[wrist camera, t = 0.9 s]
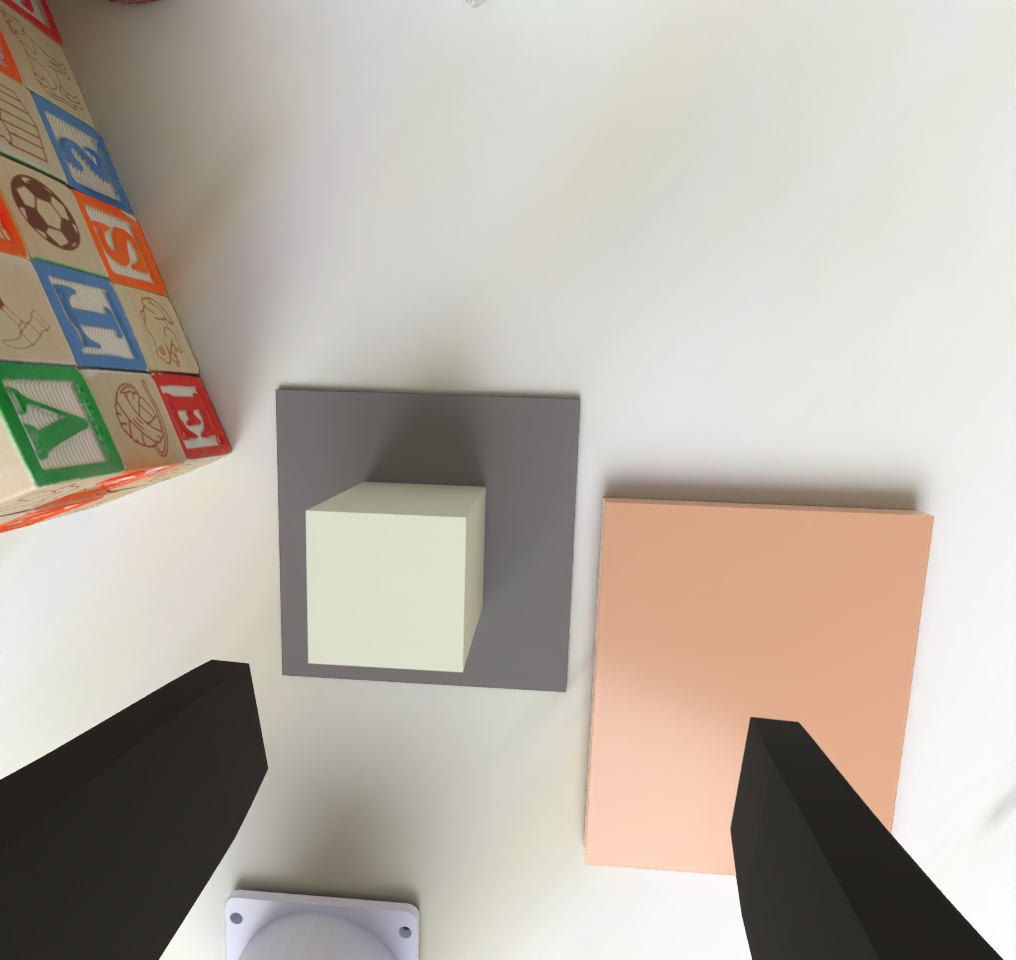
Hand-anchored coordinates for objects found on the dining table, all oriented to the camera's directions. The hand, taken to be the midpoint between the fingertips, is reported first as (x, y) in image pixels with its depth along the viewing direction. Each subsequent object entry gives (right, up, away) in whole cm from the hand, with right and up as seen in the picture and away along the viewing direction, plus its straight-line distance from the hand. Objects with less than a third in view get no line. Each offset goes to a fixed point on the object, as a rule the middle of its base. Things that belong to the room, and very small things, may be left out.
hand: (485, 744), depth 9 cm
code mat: (-3, +1, +14) cm, 14 cm away
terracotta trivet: (+9, -4, +14) cm, 17 cm away
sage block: (-3, +1, +14) cm, 14 cm away
